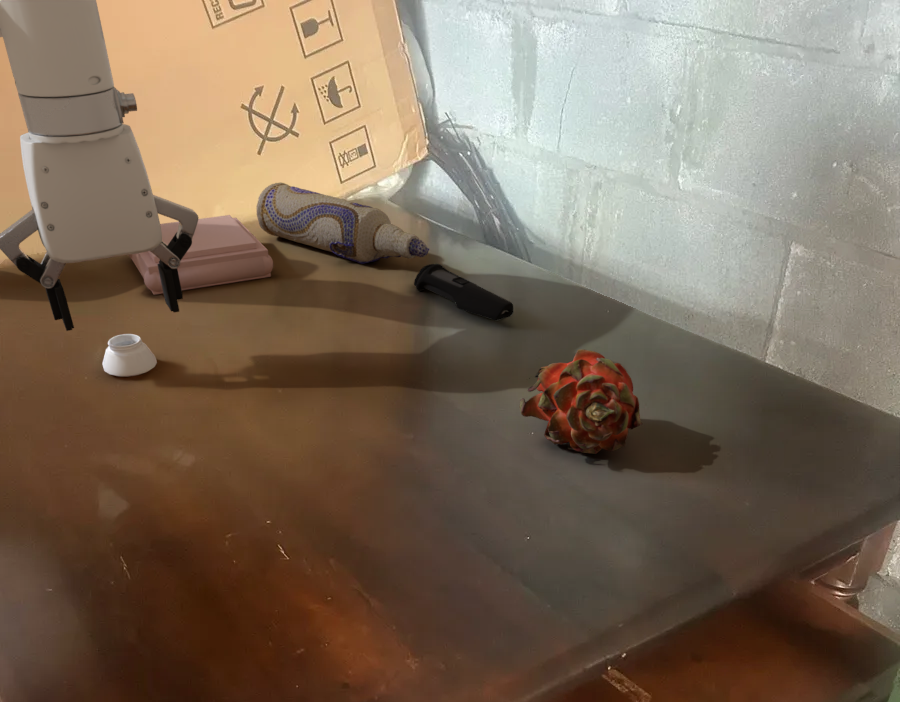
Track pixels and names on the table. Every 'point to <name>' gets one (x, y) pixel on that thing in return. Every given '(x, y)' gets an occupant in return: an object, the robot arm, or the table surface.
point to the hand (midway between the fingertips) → (121, 316)
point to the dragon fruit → (585, 403)
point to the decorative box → (210, 256)
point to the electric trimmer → (463, 292)
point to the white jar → (128, 356)
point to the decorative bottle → (334, 225)
